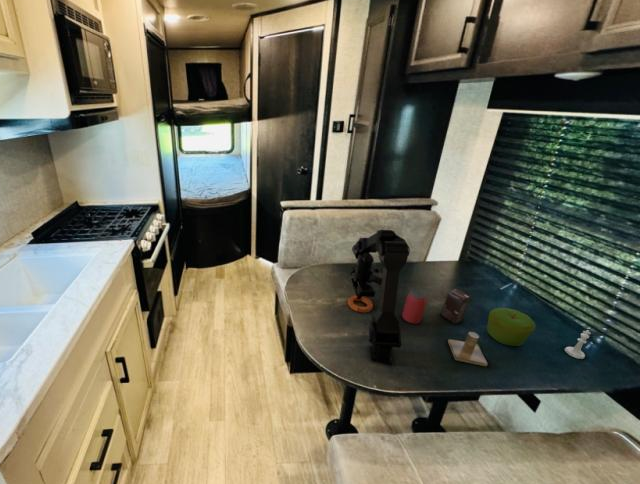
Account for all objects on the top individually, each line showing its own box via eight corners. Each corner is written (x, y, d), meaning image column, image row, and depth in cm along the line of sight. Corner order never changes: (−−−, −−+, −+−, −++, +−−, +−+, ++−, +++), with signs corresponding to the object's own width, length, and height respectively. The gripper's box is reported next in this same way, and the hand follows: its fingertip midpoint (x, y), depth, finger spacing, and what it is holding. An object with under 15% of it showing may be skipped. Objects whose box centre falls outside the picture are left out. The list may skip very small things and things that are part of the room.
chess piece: (586, 361, 103) (601, 337, 99) (566, 355, 106) (580, 332, 101) (582, 351, 107) (595, 328, 103) (562, 345, 109) (575, 323, 105)
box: (440, 315, 125) (448, 290, 120) (447, 312, 126) (456, 287, 121) (454, 324, 120) (463, 299, 115) (462, 321, 121) (471, 296, 116)
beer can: (418, 326, 119) (426, 301, 114) (400, 319, 122) (406, 294, 117) (421, 317, 124) (429, 292, 118) (403, 311, 127) (410, 286, 122)
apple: (512, 329, 117) (523, 304, 113) (534, 353, 106) (548, 327, 102) (475, 325, 119) (485, 301, 115) (493, 349, 108) (505, 323, 104)
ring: (374, 312, 126) (375, 309, 126) (351, 311, 127) (351, 308, 126) (368, 299, 135) (368, 296, 134) (346, 298, 135) (346, 295, 135)
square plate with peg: (486, 366, 102) (495, 347, 98) (455, 360, 104) (462, 341, 101) (477, 346, 109) (484, 328, 106) (447, 341, 112) (454, 323, 108)
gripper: (392, 279, 118) (384, 312, 125) (377, 256, 135) (371, 286, 142) (362, 278, 119) (356, 311, 126) (351, 255, 136) (346, 285, 143)
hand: (358, 297), depth 134 cm, fingers closed on ring, 1 cm apart
